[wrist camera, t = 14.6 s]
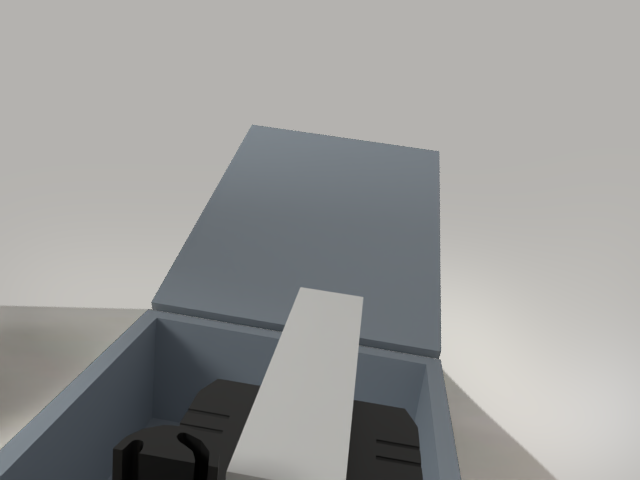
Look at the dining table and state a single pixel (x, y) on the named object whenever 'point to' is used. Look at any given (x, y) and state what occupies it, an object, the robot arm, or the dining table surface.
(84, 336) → the dining table surface
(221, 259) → the lid
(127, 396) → the mailer box
